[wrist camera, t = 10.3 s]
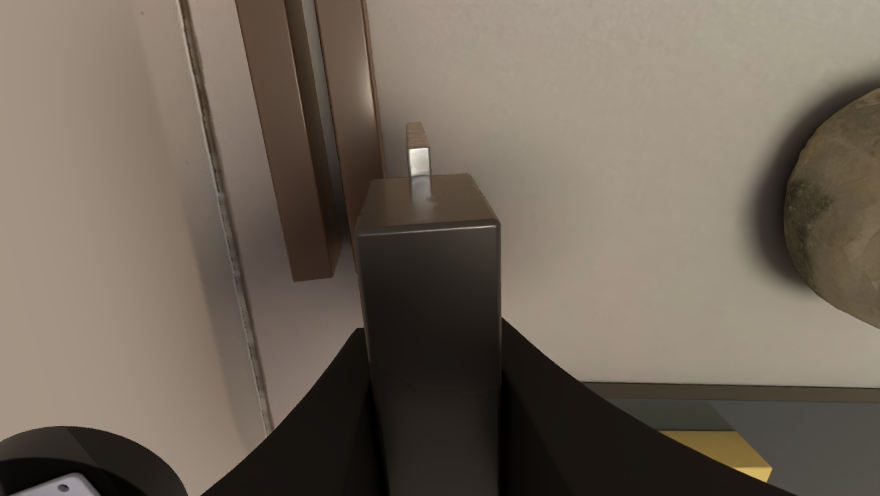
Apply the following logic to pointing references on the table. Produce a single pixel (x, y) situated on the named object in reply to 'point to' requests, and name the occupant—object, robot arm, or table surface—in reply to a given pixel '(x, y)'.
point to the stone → (839, 210)
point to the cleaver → (433, 328)
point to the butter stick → (725, 450)
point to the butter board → (774, 428)
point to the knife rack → (314, 120)
